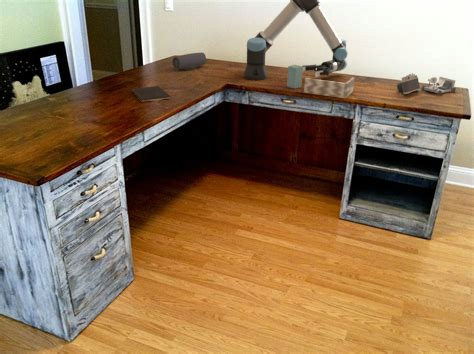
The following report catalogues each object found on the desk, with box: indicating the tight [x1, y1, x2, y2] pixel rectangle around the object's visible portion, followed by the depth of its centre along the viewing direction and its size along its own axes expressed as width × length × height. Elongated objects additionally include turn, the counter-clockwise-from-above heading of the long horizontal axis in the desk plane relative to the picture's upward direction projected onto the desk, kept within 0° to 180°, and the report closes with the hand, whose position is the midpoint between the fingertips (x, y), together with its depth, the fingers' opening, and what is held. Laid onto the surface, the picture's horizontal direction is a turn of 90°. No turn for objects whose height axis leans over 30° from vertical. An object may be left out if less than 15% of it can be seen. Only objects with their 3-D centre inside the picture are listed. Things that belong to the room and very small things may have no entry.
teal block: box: [286, 64, 303, 89], centre depth 256 cm, size 6×6×12 cm
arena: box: [303, 76, 356, 99], centre depth 248 cm, size 24×16×8 cm, turn 62°
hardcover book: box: [131, 85, 171, 101], centre depth 240 cm, size 16×23×2 cm
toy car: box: [420, 76, 457, 96], centre depth 250 cm, size 18×10×12 cm
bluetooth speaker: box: [172, 52, 207, 71], centre depth 296 cm, size 23×9×10 cm, turn 133°
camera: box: [396, 72, 421, 95], centre depth 249 cm, size 9×16×10 cm, turn 134°
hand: (306, 72), depth 262 cm, fingers open, 13 cm apart
